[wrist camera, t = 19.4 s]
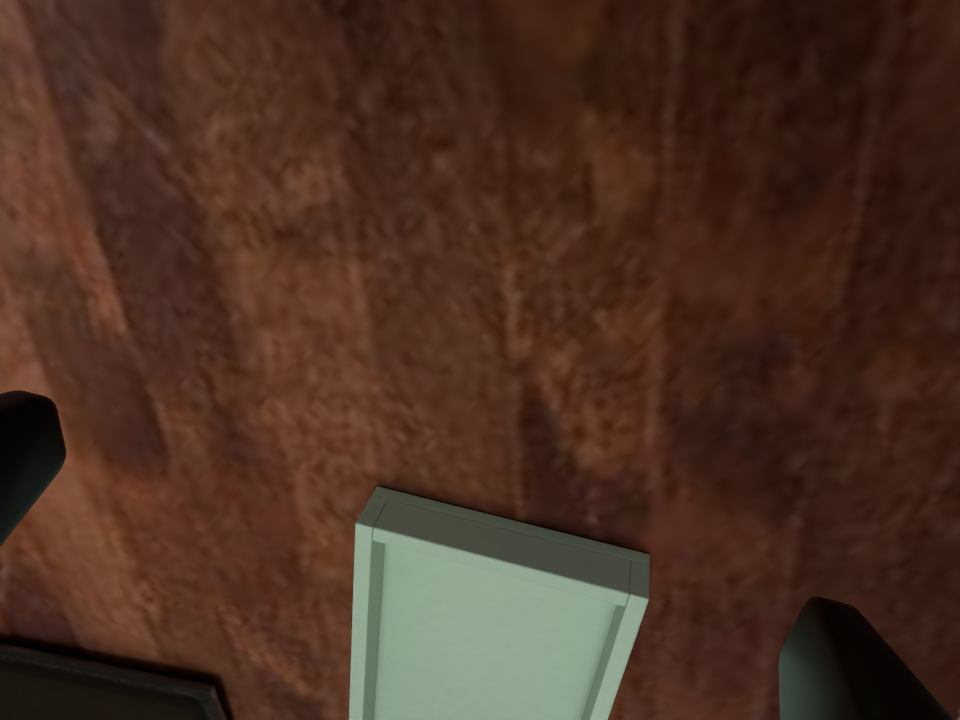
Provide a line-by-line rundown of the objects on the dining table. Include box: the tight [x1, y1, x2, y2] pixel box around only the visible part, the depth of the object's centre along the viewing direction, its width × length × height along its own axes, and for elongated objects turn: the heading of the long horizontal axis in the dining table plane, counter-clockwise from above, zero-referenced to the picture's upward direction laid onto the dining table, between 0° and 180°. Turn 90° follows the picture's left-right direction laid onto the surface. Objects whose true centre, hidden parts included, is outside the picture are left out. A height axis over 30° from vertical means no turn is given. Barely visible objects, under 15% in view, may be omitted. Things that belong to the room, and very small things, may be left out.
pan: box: [349, 487, 649, 720], centre depth 26 cm, size 10×17×2 cm, turn 173°
